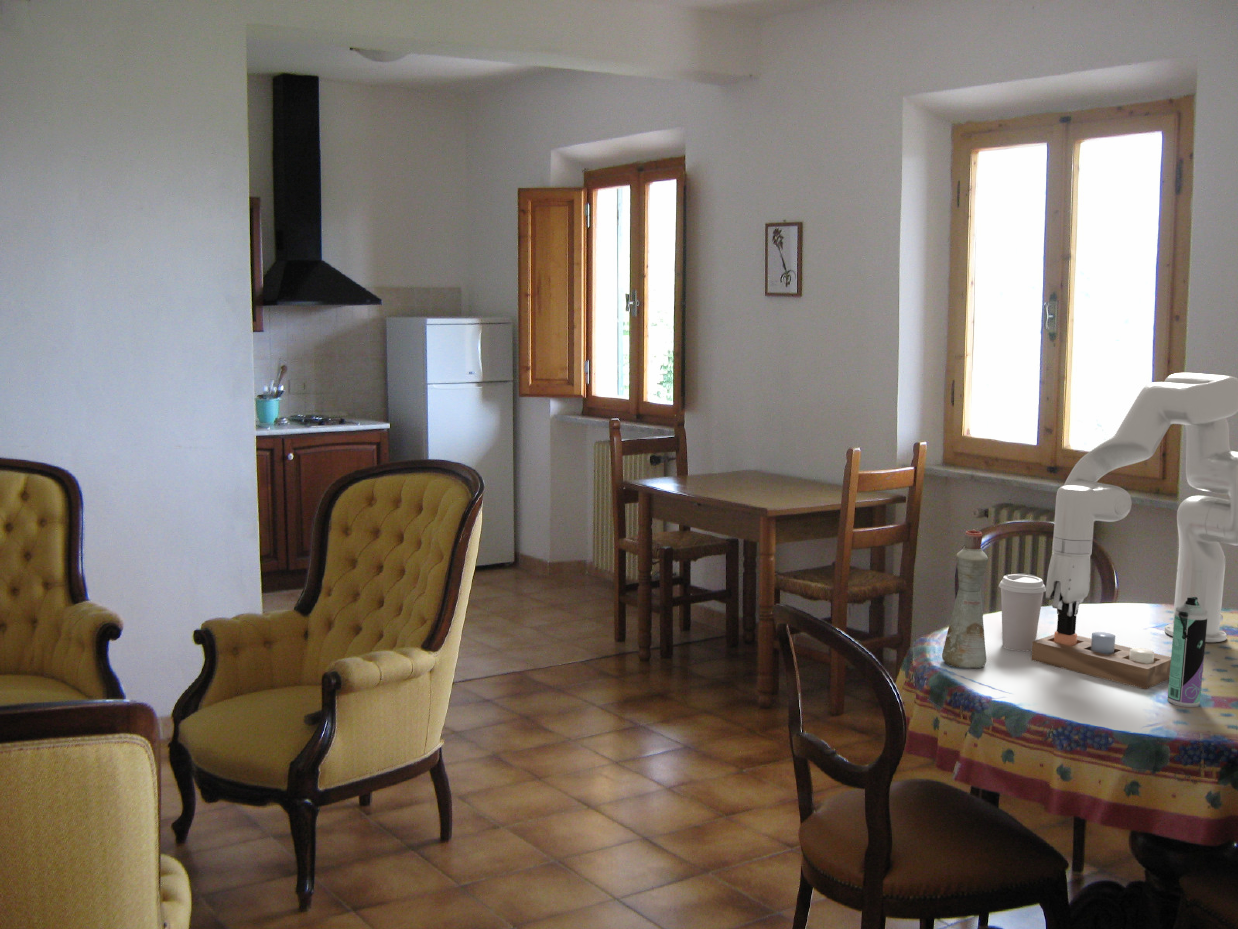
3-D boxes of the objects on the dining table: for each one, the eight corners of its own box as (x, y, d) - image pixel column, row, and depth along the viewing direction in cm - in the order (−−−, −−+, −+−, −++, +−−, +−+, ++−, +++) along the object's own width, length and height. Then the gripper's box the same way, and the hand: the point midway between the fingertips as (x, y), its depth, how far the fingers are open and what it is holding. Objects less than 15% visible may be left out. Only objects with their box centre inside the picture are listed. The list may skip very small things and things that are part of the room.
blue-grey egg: (1096, 653, 248) (1098, 631, 248) (1117, 658, 245) (1119, 635, 244) (1086, 657, 245) (1087, 634, 245) (1107, 662, 242) (1108, 639, 242)
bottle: (949, 671, 242) (957, 532, 238) (936, 657, 251) (944, 524, 247) (992, 671, 242) (1001, 533, 238) (977, 658, 251) (986, 525, 247)
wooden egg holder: (1060, 650, 258) (1061, 632, 258) (1173, 677, 241) (1175, 658, 240) (1031, 660, 250) (1032, 641, 250) (1145, 689, 233) (1147, 669, 232)
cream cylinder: (1134, 670, 243) (1136, 646, 242) (1156, 675, 239) (1158, 651, 239) (1124, 674, 240) (1125, 650, 239) (1146, 679, 236) (1148, 655, 236)
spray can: (1197, 709, 222) (1207, 602, 219) (1165, 703, 225) (1174, 597, 222) (1201, 701, 226) (1210, 596, 224) (1169, 695, 229) (1178, 592, 227)
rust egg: (1059, 651, 254) (1061, 629, 254) (1079, 656, 251) (1081, 634, 251) (1048, 655, 251) (1050, 633, 251) (1068, 660, 248) (1070, 637, 248)
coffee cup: (1019, 639, 267) (1023, 572, 265) (1051, 650, 258) (1056, 581, 256) (985, 643, 262) (989, 575, 260) (1017, 655, 254) (1022, 585, 252)
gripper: (1073, 539, 256) (1066, 623, 258) (1036, 547, 246) (1030, 635, 249) (1107, 545, 250) (1100, 631, 253) (1071, 553, 241) (1064, 643, 243)
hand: (1065, 633), depth 251 cm, fingers closed
